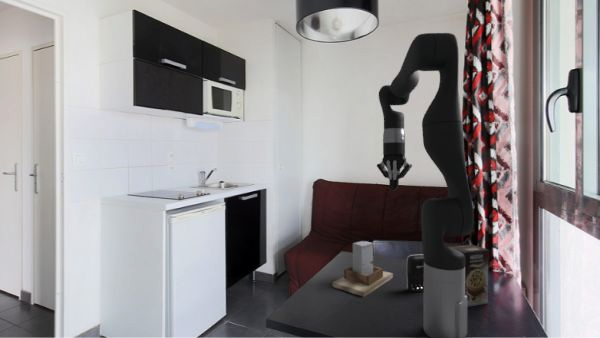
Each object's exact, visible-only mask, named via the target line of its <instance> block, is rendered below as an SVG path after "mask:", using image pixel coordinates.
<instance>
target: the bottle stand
mask: <svg viewBox="0 0 600 338" xmlns="http://www.w3.org/2000/svg"><path fill="white" fill-rule="evenodd" d="M393 278H394V273H392V272H389V271H385V270H384V268H382V267H378V266H375V265H373V273H371V274H370V275H365V274H361V273H358V272H354V271H353V265H351V266H349V267H347V268H345V269H343V276H342V277H340V278H338V279H336V280H333V281H332V284H331V285H332V286H331V287H333V288H334V289H339V290H342V291H345V292H348V293H350V294H354V295H357V296H360V297H363V298H365V297H366V296H368V295H369V294H370V293H372V292H373V291H375V290H376V289H378V288H379V287H381V286H382V285H384V284H386V283H387V282H389V281H391V280H392V279H393Z"/></svg>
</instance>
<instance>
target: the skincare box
mask: <svg viewBox="0 0 600 338" xmlns="http://www.w3.org/2000/svg"><path fill="white" fill-rule="evenodd" d="M352 266H353V271H354V272H358V273H361V274H365V275H370V274H371V273H373V266H374V243H373V242H369V241H366V240H361V241H356V242H353V243H352Z"/></svg>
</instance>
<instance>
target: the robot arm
mask: <svg viewBox="0 0 600 338" xmlns="http://www.w3.org/2000/svg"><path fill="white" fill-rule="evenodd" d="M459 47H460V46H459V42H458V38H457V37H456V35H455V34H453V33H451V32H432V33H431V32H428V33H420V34H417V35H416V37H414V38H413V40H412V41H411V43H410V45H409V47H408V50H407V52H406V55H405V56H404V60H403V63H402V65H401V66H400V70H399V72H398V73H397V74H396V76H395V77H394V78H393V80H392V81H391V83H390V84H387V85H385V84H384V85H382V86H381V87H380V89H379V91H378V101H379V104H380V107H381V111H382V116H383V134H382V137H383V138H382V151H383V153H382V155H383V157H382V160H381V162H379V163H377V164H376V167H377V168H378V170H379V172H380V173H381V174H382V176H383V177H384V178H386V179H388V181H389V182H388V183H389V189H390V190H391V191H397V190H398V189H399V187H400V185H399V180H400V179H402V178H403V179H404V178H405V177H406V175H407V174H408V172H409V171H411V168H412V167H413V165H412V163H409V162H408V161H407V158H406V133H405V132H406V131H405V113H403V112H401V111H398V110H394V109H393V108H392V106H404V105H406V104H408V102H409V100H410V95H411V93H412V92H413V91H414V90H415V89H416V88H417V86H418V84H419V81H420V73H419V71H420V72H438V73H439V84H438V89H437V91H436V93H435V96H434V97H433V99H432V101H431V103H430V104H429V105H428V107H427V110H426V111H425V113H424V114H423V118H422V121H421V127H422V142H423V148H424V149H425V151H426V153H427V155H428V157H429V158H430V160H431V161H432V163H433V164H434V165H435V166H436V168H437V169H438V170H439V172H440V173H441V175H442V176H443V178H444V181H445V183H446V187H447V193H448V197H433V198H428V199H425V201H423V203H422V206H421V211H420V217H421V218H420V221H421V222H420V226H421V244H422V253H423V255H424V291H423V320H422V322H423V332H424V333H425V335H426V336H428V337H430V338H466V337H467V335H468V307H467V296H466V295H465V256H464V254H463V253H462V252H460V251H458V250H455V249H453V248H449V247H450V246H446V245H445V240H444V238H447V237H450V238H451V237H466V236H468V235H470V234H471V233H472V232H473V230H474V225H475V214H474V207H473V206H474V205H473V200H472V196H471V195H472V194H471V190H470V185H469V181H468V180H469V179H468V174H467V166H466V165H467V164H466V157H465V156H466V155H465V143H464V127H463V125H464V124H463V119H462V118H463V117H462V110H461V99H460V48H459ZM402 168H403V169H402ZM401 169H402V170H401Z"/></svg>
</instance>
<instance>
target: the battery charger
mask: <svg viewBox="0 0 600 338" xmlns="http://www.w3.org/2000/svg"><path fill="white" fill-rule="evenodd" d="M405 278H406V279H405V280H406V282H405V284H406V285H405V287H406V288H405V289H406V290H408V291H409V292H410V293H411V292H412V293H420V292H424V254H422V253H420V254H418V253H417V254H409V255H408V256H406V260H405Z"/></svg>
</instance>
